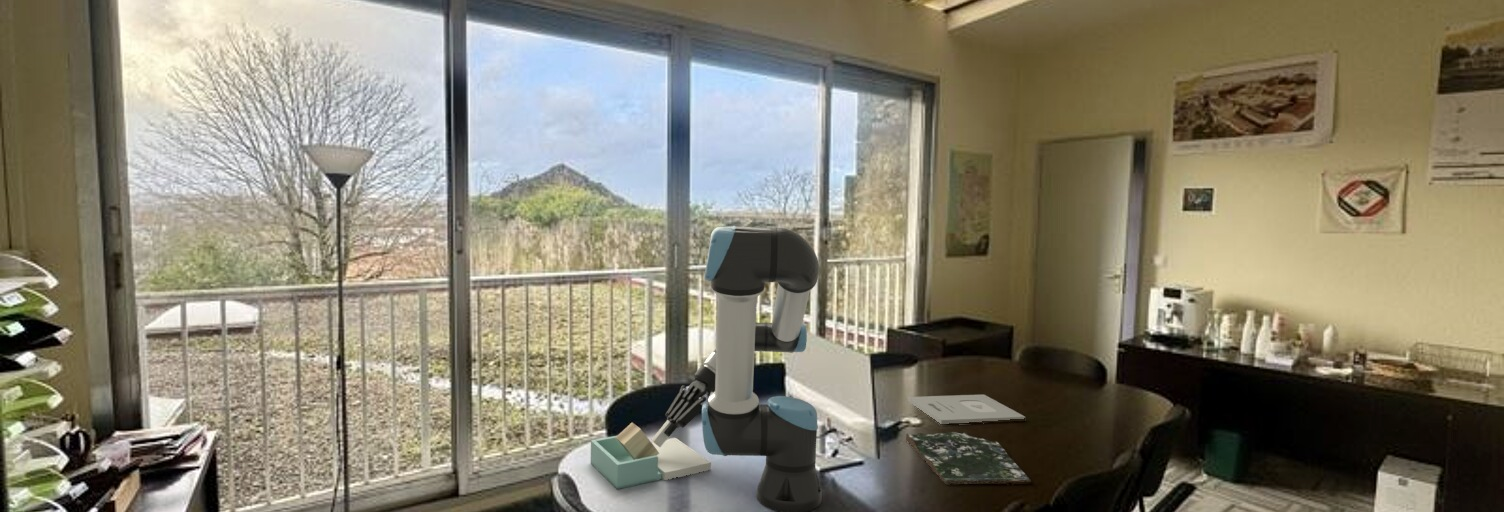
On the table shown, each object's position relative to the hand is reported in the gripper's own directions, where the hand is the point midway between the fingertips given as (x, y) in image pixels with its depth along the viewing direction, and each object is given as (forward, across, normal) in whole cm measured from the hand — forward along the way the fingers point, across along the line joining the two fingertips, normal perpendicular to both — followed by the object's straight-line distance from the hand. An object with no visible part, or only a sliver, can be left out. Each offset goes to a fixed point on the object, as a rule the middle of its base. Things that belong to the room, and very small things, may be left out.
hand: (655, 443), depth 172 cm
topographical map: (-50, -38, -59) cm, 86 cm away
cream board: (+1, 0, -7) cm, 7 cm away
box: (+10, 0, +2) cm, 10 cm away
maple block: (+4, 0, 0) cm, 4 cm away
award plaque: (-74, -9, -83) cm, 111 cm away
